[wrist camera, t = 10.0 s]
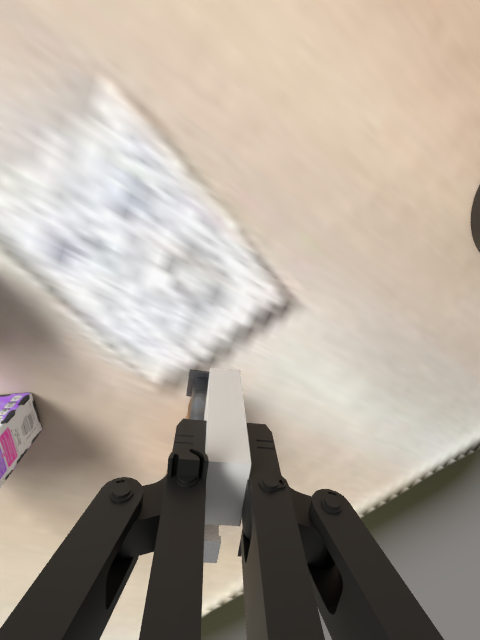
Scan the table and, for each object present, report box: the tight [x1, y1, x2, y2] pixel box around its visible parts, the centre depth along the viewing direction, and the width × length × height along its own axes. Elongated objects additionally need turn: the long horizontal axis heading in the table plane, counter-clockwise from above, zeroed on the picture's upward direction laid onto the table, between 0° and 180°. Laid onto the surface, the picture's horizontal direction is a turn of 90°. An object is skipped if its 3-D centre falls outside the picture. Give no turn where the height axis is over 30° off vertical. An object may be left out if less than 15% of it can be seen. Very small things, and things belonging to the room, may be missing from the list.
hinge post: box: [186, 370, 210, 420], centre depth 41 cm, size 4×4×13 cm
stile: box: [203, 524, 221, 563], centre depth 48 cm, size 4×4×11 cm
